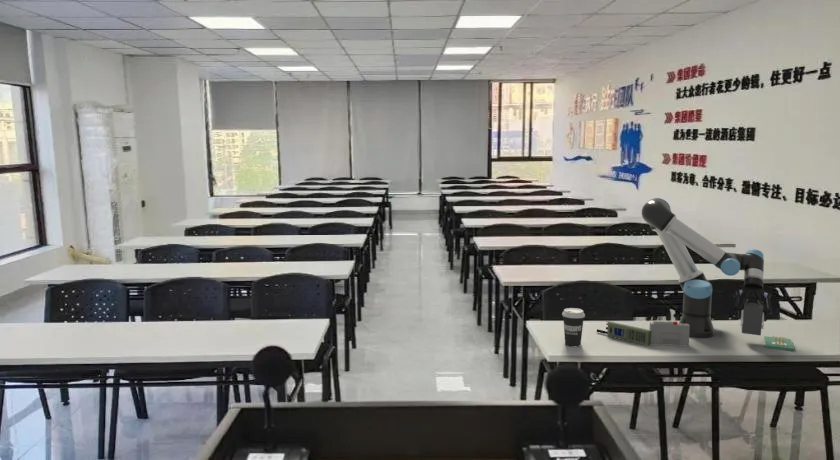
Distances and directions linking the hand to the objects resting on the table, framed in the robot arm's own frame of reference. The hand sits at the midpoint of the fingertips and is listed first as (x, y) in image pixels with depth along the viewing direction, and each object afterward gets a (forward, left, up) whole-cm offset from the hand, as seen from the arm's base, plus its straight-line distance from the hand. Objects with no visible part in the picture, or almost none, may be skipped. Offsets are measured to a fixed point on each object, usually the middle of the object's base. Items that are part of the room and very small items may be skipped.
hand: (752, 325), depth 254 cm
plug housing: (0, +3, -4) cm, 5 cm away
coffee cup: (-69, -31, -9) cm, 76 cm away
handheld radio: (-51, -13, -9) cm, 53 cm away
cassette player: (-32, -13, -9) cm, 35 cm away
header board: (+11, +6, -9) cm, 15 cm away
